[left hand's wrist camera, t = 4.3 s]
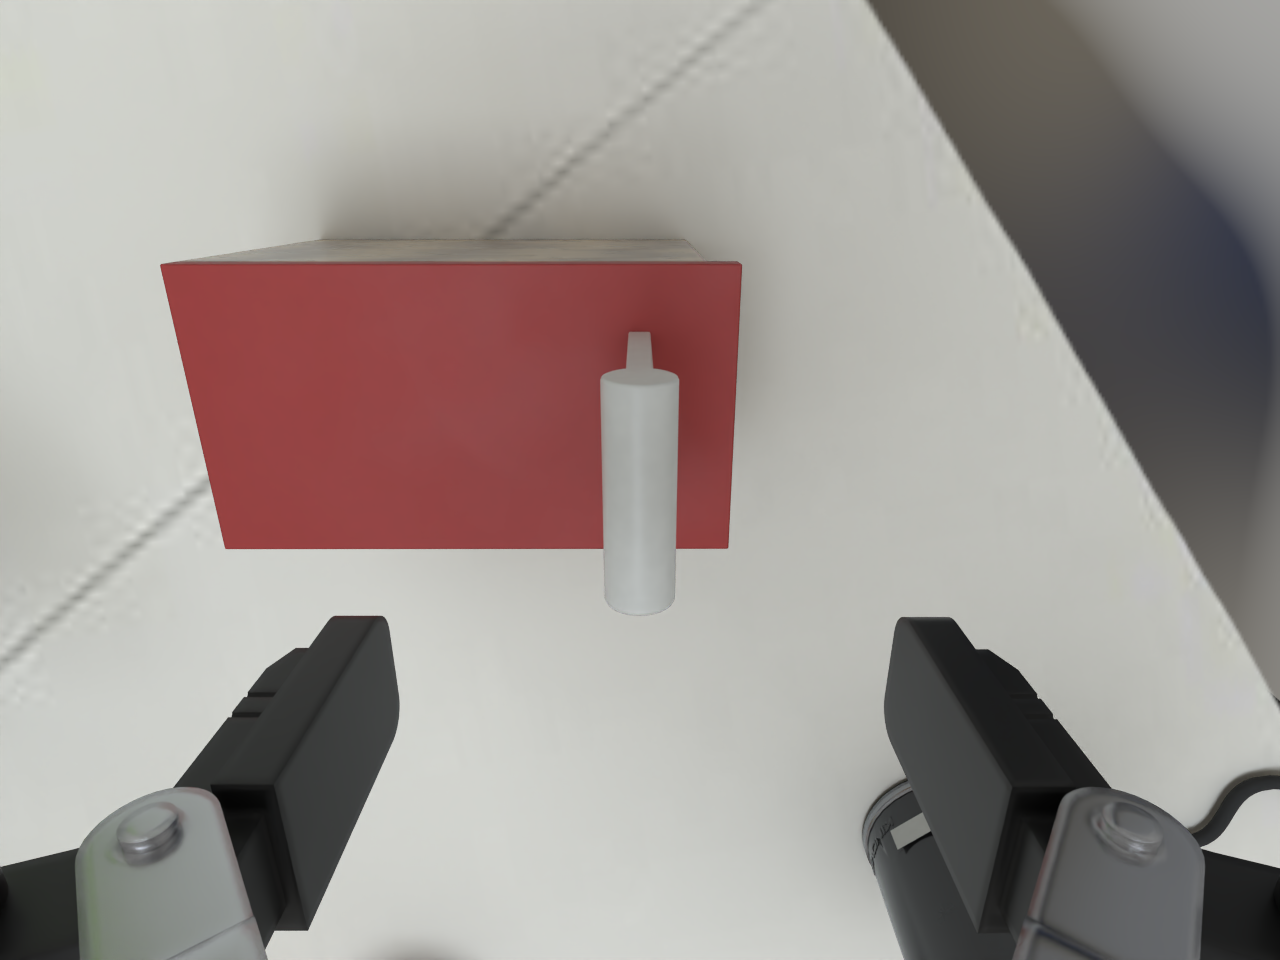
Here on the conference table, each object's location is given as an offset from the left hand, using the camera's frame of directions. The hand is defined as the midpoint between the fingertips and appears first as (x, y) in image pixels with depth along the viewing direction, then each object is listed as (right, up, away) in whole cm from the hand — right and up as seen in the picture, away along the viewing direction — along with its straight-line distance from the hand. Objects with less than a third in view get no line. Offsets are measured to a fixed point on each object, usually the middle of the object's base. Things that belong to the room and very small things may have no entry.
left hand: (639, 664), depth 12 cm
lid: (-6, +5, +14) cm, 16 cm away
